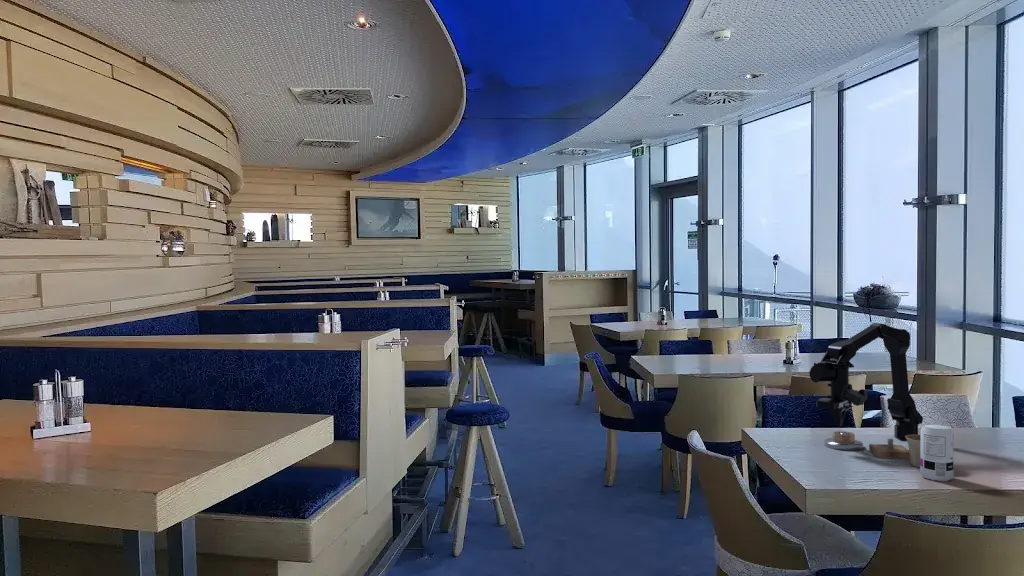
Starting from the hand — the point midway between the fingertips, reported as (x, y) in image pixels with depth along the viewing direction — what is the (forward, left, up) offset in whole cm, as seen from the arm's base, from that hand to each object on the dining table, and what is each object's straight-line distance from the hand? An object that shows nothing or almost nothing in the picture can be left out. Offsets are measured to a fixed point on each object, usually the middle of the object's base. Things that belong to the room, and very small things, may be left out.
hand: (839, 426), depth 243 cm
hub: (-1, 0, -7) cm, 7 cm away
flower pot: (-18, +22, -7) cm, 30 cm away
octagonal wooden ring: (-1, 0, -6) cm, 6 cm away
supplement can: (-17, +35, -7) cm, 40 cm away
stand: (-13, +9, -7) cm, 18 cm away
